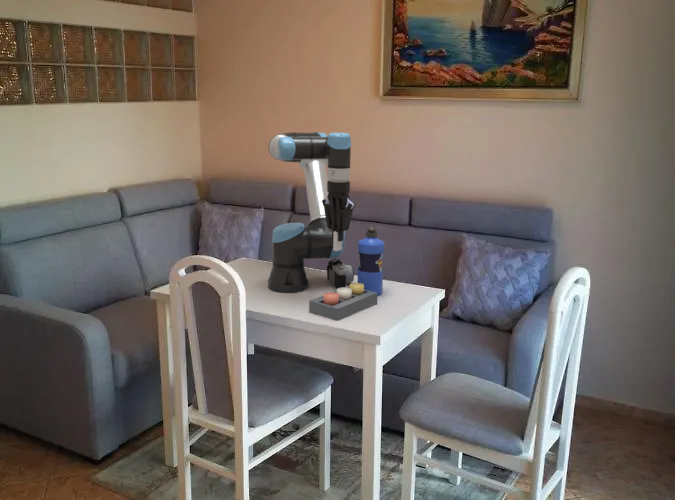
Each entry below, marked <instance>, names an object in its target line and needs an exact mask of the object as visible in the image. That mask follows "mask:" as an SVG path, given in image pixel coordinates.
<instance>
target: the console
mask: <svg viewBox="0 0 675 500" xmlns="http://www.w3.org/2000/svg"><path fill="white" fill-rule="evenodd" d="M346 288H350V285H349V286H346ZM333 292H335V293H337V290H335V291H334V290H333ZM378 297H379V296H378V293H376V292H372V291H368V290H365V289H364V294H362V295H359V296H357V295H353V294H352V299H349V300H346V301H345V300H341V299H339V304H336V305H334V306H330V305H327V304H323V295H321V296H318V297H316V298H313V299H310V300H309V301H308V307H309V308H308V313H311V314H313V315H317V316H320V317H323V318H327V319H331V320H332V321H333V320H334V321H337V322H339V321H340V320H343V319H345V318H347V317H350V316H352V315H355V314H357V313H359V312H361V311H364V310H365V309H369V308H371V307H372V306H375V305H378Z"/></svg>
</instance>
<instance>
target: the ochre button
mask: <svg viewBox="0 0 675 500" xmlns="http://www.w3.org/2000/svg"><path fill="white" fill-rule="evenodd" d="M349 286H350V289H352V294H353V295H357V296H359V295H362V294H364V284H362V283H358V282H350V284H349Z"/></svg>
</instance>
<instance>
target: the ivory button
mask: <svg viewBox="0 0 675 500" xmlns="http://www.w3.org/2000/svg"><path fill="white" fill-rule="evenodd" d="M346 287H347V286H346ZM346 287H341V288H338V289H337V290H336V291H337V293H338V294H339V299H341V300H345V301H346V300H349V299H352V289H350V288H346Z"/></svg>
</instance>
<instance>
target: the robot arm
mask: <svg viewBox="0 0 675 500" xmlns="http://www.w3.org/2000/svg"><path fill="white" fill-rule="evenodd" d="M351 148H352V139H351V134H350V133H347V132H330V133H328V135H327V134H326V133H324V132H317V131H315V132H283V133H279V134H278V135H274V136H273V137H272V138H271V139H270V141H269V142H268V152H269V154H270V156H271V157H272V158H273V159H275V160H277V161H281V162H285V163H298V165H299V168H300V169H301V170H303V174H304V181H305V187H306V189H305V190H306V196H307V202H308V203H307V204H308V210H309V211H308V212H309V216H310V221H309V222H308V224H307V226H305V224H304V223H302V222H287V223H284V224H280V225H277V226H276V227H274V229H273V230H272V236H271V237H272V239H271V242H272V267H271V270H270V274H269V278H268V280H267V287H268V288H269V290H271V291H273V292H279V293H298V292H304V291H306V290H307V289H309V288H310V280H309V278H308V274H307V272H306V268H305V260H309V259H312V260H313V259H335V258H339V257H341V256H342V255H343V253H344V250H345V240H346V231H349V229H350V225H351V220H352V215H353V211H354V209H355V207H356V203H355V202H352V201H351V200H350V195H349V194H350V193H351V192H350V191H351V182H350V181H349V180H351V157H352V156H351V152H352V151H351Z"/></svg>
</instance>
